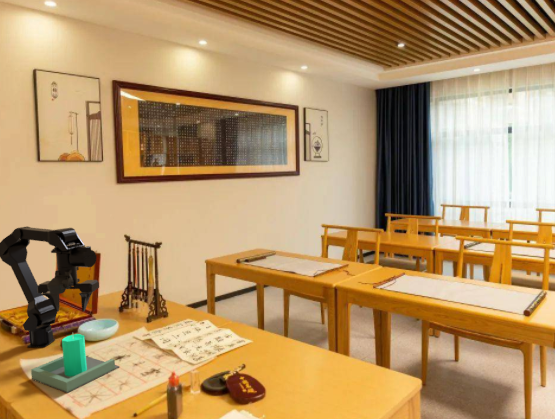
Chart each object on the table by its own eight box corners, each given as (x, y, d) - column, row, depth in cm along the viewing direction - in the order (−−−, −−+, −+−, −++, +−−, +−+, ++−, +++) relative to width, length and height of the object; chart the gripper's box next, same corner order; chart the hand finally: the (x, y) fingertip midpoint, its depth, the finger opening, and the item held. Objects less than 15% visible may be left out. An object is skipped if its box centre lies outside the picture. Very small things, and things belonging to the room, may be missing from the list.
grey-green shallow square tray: (84, 356, 140) (83, 347, 139) (119, 367, 131) (118, 357, 131) (31, 379, 125) (31, 369, 125) (67, 393, 116) (66, 382, 116)
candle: (72, 378, 124) (69, 337, 123) (60, 373, 127) (57, 334, 126) (91, 369, 129) (88, 330, 128) (79, 365, 132) (76, 327, 131)
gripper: (24, 272, 137) (28, 320, 138) (81, 271, 135) (85, 319, 137) (45, 264, 148) (49, 308, 149) (98, 263, 146) (101, 308, 148)
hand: (70, 311), depth 146 cm, fingers open, 9 cm apart
